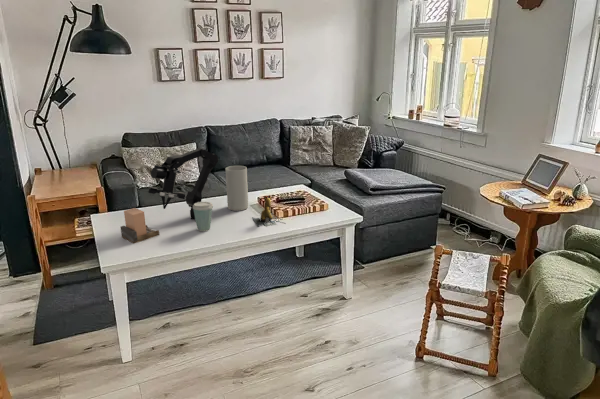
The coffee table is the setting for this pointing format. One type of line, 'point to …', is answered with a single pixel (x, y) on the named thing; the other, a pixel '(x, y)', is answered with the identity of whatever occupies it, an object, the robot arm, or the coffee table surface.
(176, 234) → the coffee table surface
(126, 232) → the roller track
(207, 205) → the disposable coffee cup
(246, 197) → the cylinder vase
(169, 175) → the robot arm
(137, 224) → the terracotta slab
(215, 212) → the coffee table surface
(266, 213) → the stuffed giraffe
